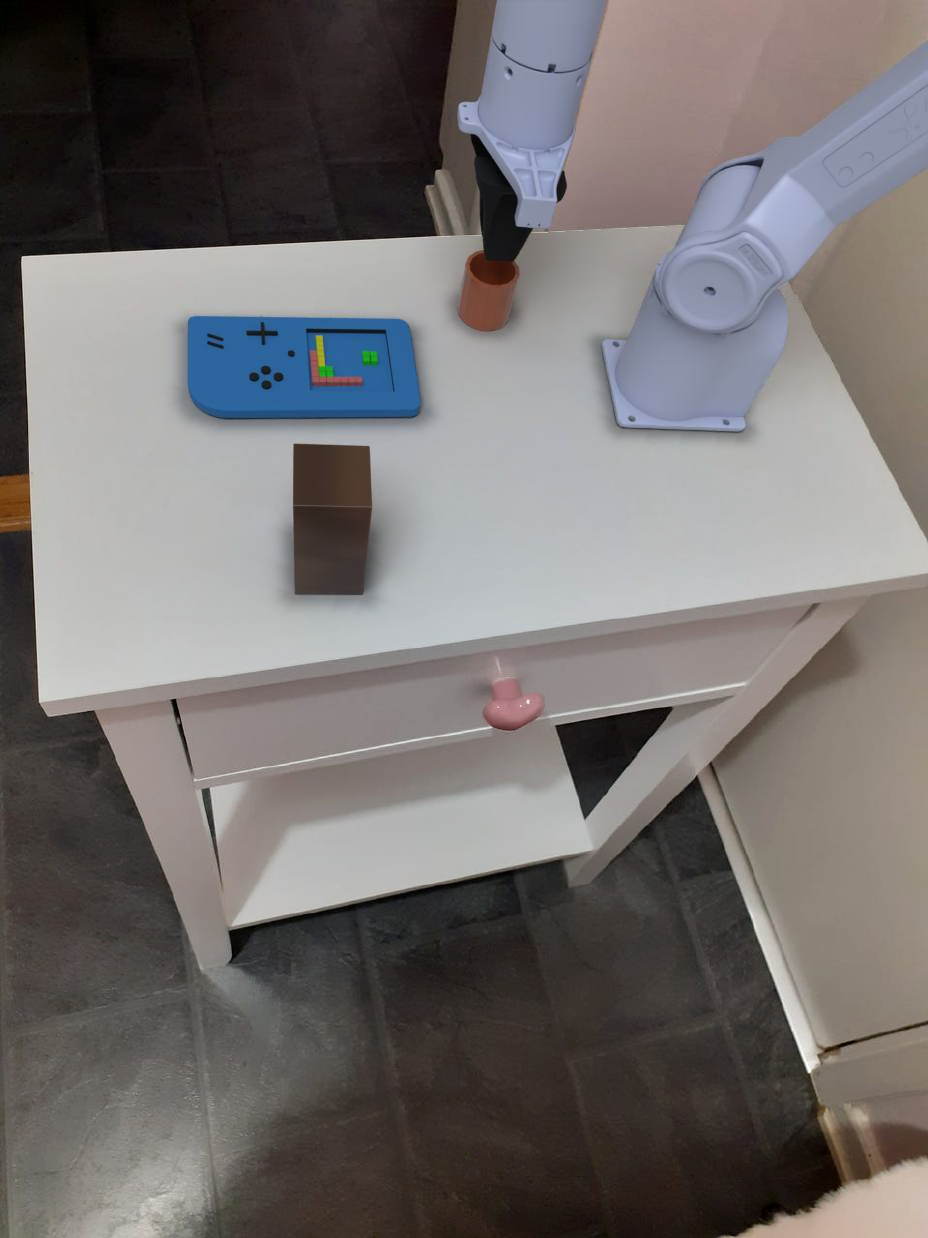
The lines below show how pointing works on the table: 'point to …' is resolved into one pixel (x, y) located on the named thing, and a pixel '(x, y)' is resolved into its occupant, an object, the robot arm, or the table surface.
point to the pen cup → (487, 292)
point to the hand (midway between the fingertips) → (497, 245)
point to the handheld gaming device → (301, 367)
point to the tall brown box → (331, 518)
